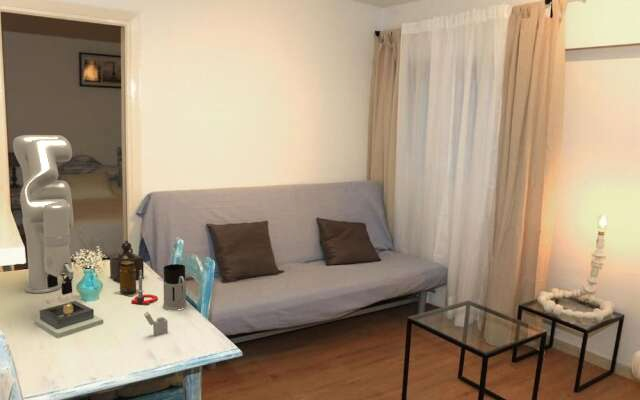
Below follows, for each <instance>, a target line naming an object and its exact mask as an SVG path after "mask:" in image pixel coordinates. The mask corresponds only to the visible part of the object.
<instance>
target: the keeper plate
mask: <svg viewBox="0 0 640 400" xmlns="http://www.w3.org/2000/svg"><path fill="white" fill-rule="evenodd" d="M74 313H75V312H74ZM62 316H64V315H60V316H59V317H62ZM33 323H34V325H35V326H37V327H39V328H40V329H42V330H43V331H45V332H47V333H49V334H50V335H52V336H53V337H55V338H57V339H60V338H63V337H65V336H69V335H72V334H74V333H78V332H81V331H84V330H87V329H91V328H94V327H96V326H99V325H103V324H104V319H103V318H102V317H100V316H97V315H95V314H94V318H93V319H89V320H86V321H83V322H80V323H76V324H73V325H70V326H67V327H63V328H60V329H56V328H55V327H53V326H51V325H49V324H48V323H46V322H44V321H42V320H41V319H40V317H38V318H35V319H33Z"/></svg>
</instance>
